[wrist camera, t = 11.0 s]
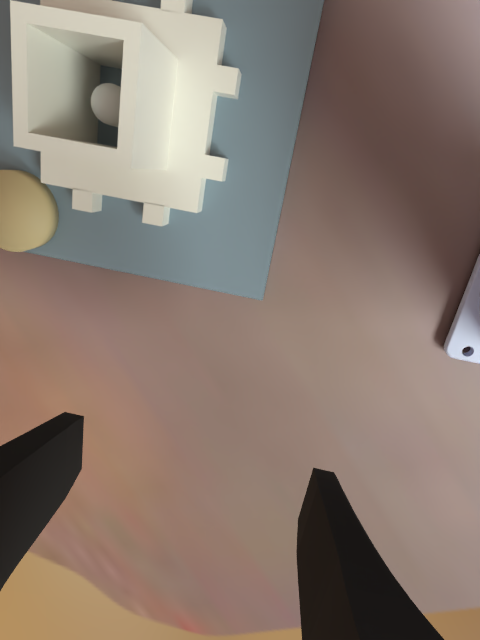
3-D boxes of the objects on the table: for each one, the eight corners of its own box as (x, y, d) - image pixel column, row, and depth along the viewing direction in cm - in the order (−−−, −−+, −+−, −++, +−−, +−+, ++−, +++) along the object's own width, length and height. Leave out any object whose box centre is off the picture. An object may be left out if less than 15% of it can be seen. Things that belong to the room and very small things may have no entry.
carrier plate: (336, -58, 15) (349, -127, 12) (263, 295, 20) (257, 321, 17) (-20, -114, 16) (-107, -194, 12) (-5, 241, 21) (-64, 254, 17)
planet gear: (252, 5, 15) (235, -68, 11) (217, 233, 18) (192, 253, 14) (34, -31, 16) (-74, -116, 11) (35, 197, 19) (-49, 205, 14)
